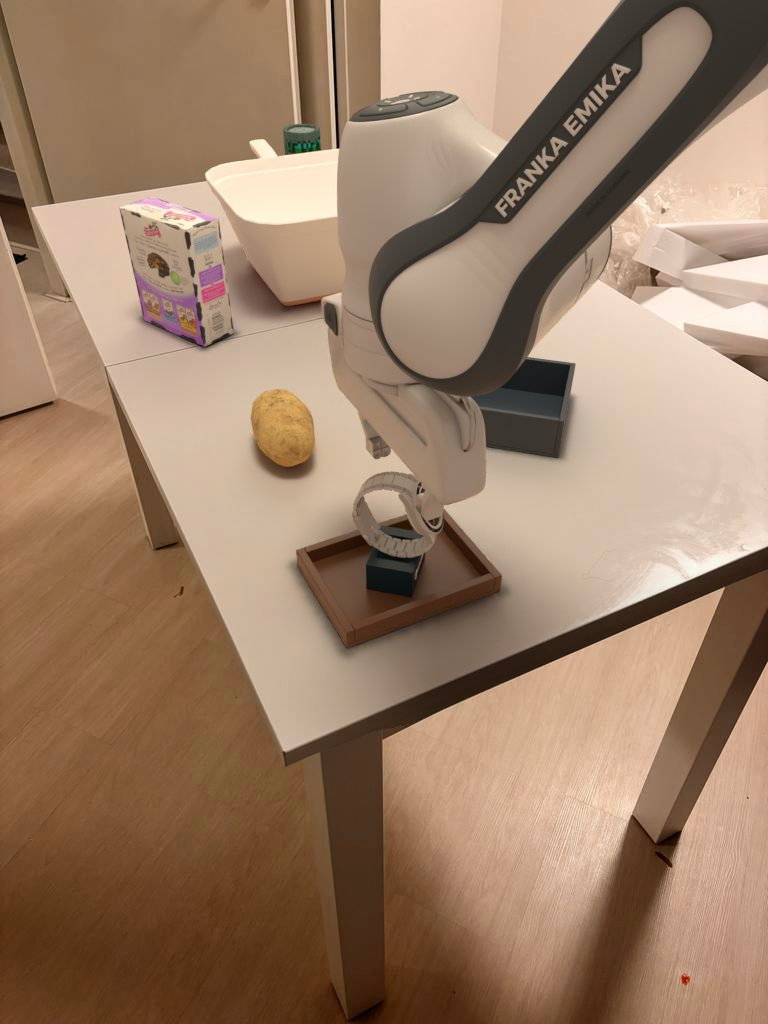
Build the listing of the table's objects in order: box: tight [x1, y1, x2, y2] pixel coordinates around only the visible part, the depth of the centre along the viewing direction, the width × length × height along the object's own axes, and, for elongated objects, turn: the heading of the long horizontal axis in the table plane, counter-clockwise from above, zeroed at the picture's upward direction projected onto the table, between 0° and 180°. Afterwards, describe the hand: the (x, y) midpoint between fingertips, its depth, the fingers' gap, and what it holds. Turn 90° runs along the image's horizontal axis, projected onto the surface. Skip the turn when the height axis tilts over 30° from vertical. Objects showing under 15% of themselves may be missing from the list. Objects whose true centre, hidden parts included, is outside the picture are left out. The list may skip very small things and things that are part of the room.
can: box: [282, 123, 322, 155], centre depth 144 cm, size 6×6×15 cm
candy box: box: [118, 196, 235, 348], centre depth 109 cm, size 14×6×16 cm, turn 51°
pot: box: [204, 138, 346, 307], centre depth 128 cm, size 29×44×15 cm, turn 24°
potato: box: [250, 388, 316, 468], centre depth 89 cm, size 7×11×6 cm, turn 18°
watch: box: [351, 471, 444, 598], centre depth 72 cm, size 6×8×11 cm
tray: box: [295, 508, 503, 649], centre depth 75 cm, size 16×12×2 cm
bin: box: [471, 356, 577, 459], centre depth 95 cm, size 13×13×5 cm
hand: (402, 482), depth 68 cm, fingers open, 8 cm apart
